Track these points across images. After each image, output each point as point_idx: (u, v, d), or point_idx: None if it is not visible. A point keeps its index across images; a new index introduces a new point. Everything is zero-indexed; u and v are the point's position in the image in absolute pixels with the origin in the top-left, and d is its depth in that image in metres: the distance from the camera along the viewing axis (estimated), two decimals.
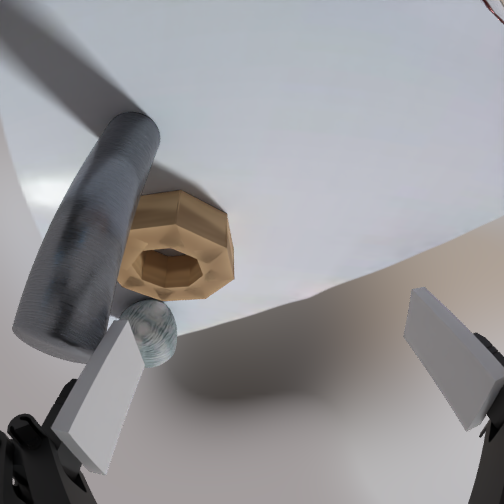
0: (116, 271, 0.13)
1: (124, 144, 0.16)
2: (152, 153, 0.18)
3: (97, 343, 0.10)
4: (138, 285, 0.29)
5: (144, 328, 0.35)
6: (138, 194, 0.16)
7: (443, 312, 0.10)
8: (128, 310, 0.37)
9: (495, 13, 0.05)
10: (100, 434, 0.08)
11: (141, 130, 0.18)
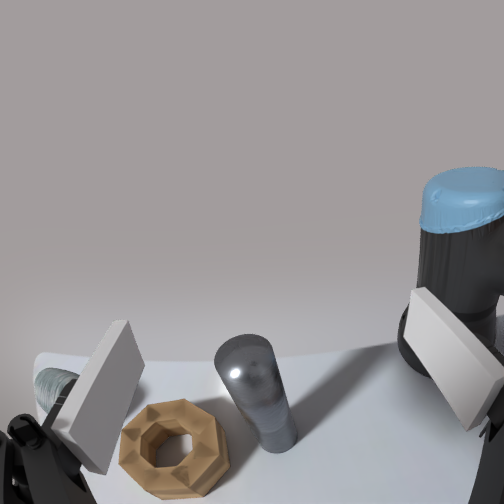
0: (254, 408, 0.21)
1: (291, 427, 0.26)
2: (276, 446, 0.26)
3: (247, 382, 0.19)
4: (147, 417, 0.30)
5: None
6: (267, 433, 0.24)
7: (443, 312, 0.10)
8: None
9: None
10: (100, 434, 0.08)
11: (291, 440, 0.26)
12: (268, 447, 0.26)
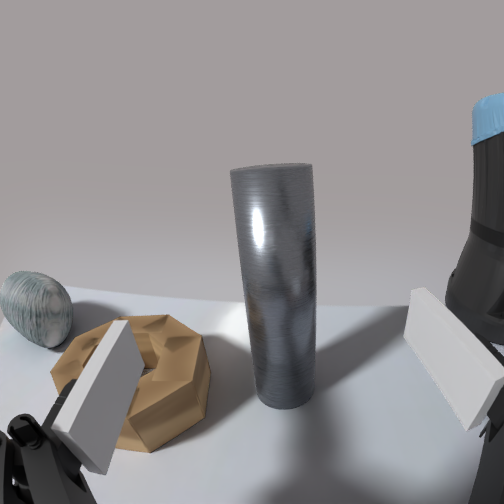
0: (270, 255, 0.15)
1: (312, 356, 0.18)
2: (283, 386, 0.18)
3: (272, 178, 0.14)
4: None
5: (54, 303, 0.26)
6: (277, 341, 0.17)
7: (443, 312, 0.10)
8: (72, 314, 0.30)
9: None
10: (100, 434, 0.08)
11: (306, 384, 0.19)
12: (270, 390, 0.19)
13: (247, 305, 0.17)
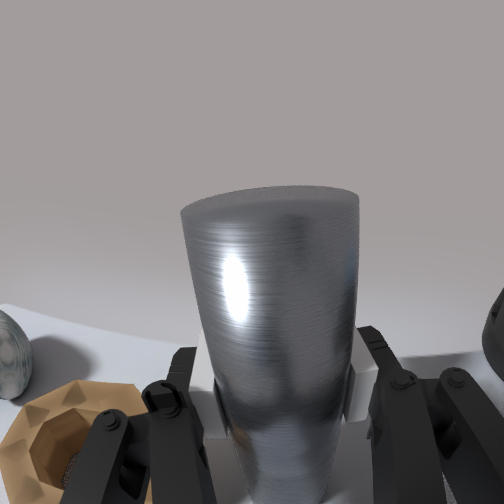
0: (268, 389, 0.07)
1: (328, 473, 0.10)
2: None
3: (273, 242, 0.05)
4: (66, 397, 0.15)
5: (6, 353, 0.17)
6: (278, 477, 0.09)
7: None
8: (31, 360, 0.21)
9: None
10: None
11: (317, 498, 0.10)
12: None
13: (230, 430, 0.09)
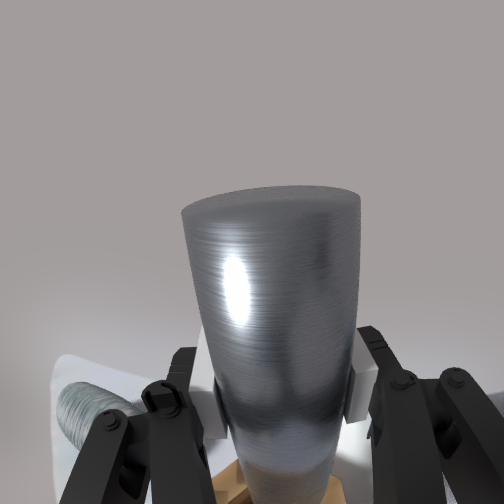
0: (269, 390, 0.07)
1: (328, 474, 0.10)
2: None
3: (275, 242, 0.05)
4: (238, 476, 0.19)
5: None
6: (279, 477, 0.09)
7: None
8: None
9: None
10: None
11: (318, 498, 0.10)
12: None
13: (230, 430, 0.09)
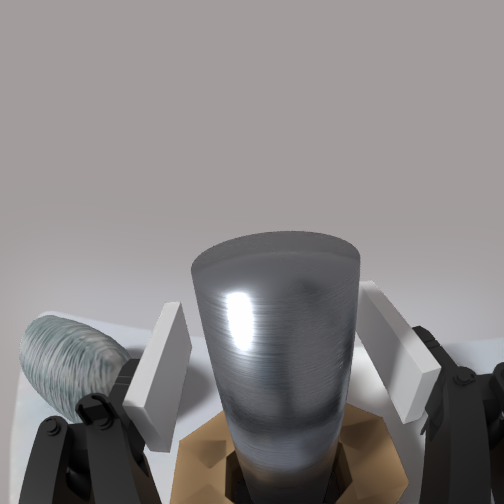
0: (272, 424, 0.07)
1: (325, 486, 0.11)
2: None
3: (280, 313, 0.06)
4: None
5: None
6: (280, 491, 0.09)
7: (384, 304, 0.11)
8: None
9: None
10: (165, 410, 0.09)
11: None
12: None
13: (236, 451, 0.10)
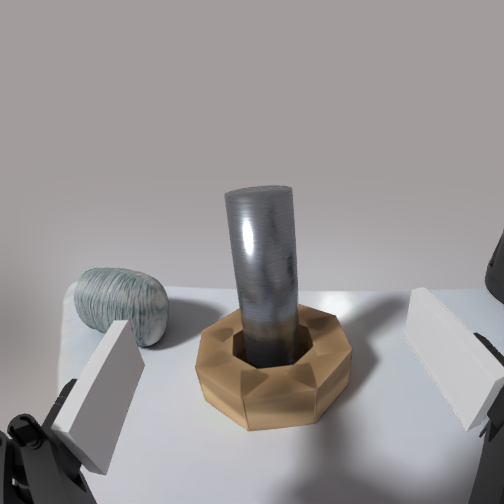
0: (258, 263, 0.19)
1: (296, 347, 0.22)
2: None
3: (258, 203, 0.17)
4: None
5: (159, 299, 0.29)
6: (265, 333, 0.20)
7: (443, 312, 0.10)
8: None
9: None
10: (100, 434, 0.08)
11: None
12: None
13: (240, 304, 0.21)
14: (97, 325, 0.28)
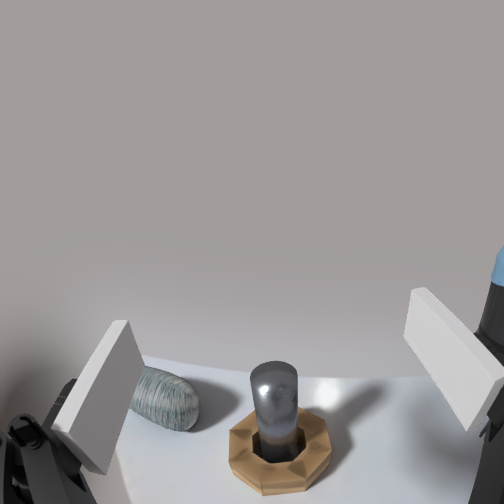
0: (272, 419, 0.25)
1: (295, 447, 0.29)
2: (278, 461, 0.28)
3: (274, 395, 0.24)
4: None
5: (194, 402, 0.36)
6: (275, 446, 0.27)
7: (443, 312, 0.10)
8: None
9: None
10: (100, 434, 0.08)
11: (292, 459, 0.29)
12: (271, 462, 0.29)
13: (259, 430, 0.28)
14: (145, 417, 0.35)
